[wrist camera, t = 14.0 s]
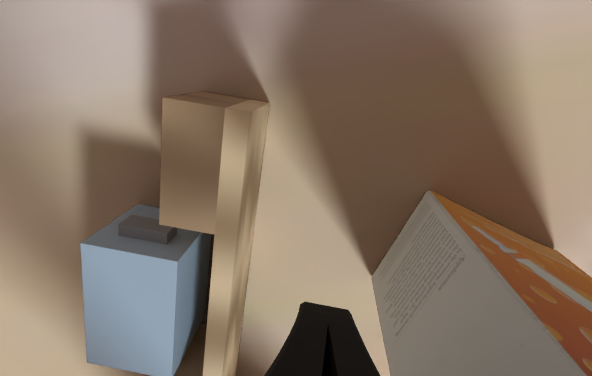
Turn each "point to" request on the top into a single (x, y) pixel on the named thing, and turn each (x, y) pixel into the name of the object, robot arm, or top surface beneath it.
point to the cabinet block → (143, 292)
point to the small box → (480, 300)
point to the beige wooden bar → (214, 207)
